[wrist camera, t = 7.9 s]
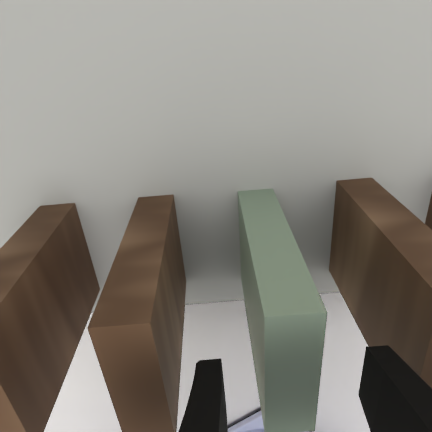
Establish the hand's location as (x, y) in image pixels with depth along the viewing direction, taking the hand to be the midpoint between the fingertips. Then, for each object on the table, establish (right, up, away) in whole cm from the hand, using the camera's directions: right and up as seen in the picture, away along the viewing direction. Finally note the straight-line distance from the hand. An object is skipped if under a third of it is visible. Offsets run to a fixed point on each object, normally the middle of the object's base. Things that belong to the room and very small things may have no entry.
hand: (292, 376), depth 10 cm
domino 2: (-5, +3, +7) cm, 9 cm away
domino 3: (+4, +4, +7) cm, 9 cm away
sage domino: (0, +4, +7) cm, 8 cm away
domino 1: (-9, +3, +7) cm, 12 cm away
